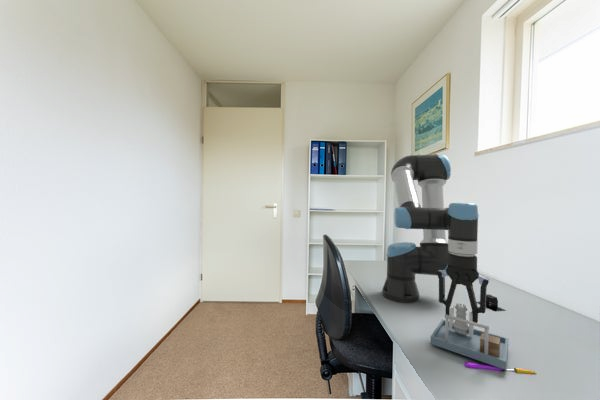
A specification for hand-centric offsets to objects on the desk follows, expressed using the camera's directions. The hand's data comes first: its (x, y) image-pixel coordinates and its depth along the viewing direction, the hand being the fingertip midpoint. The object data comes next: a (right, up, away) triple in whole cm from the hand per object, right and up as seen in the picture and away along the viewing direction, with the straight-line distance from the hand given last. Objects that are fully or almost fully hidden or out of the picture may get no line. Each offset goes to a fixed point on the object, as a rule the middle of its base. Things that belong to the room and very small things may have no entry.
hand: (461, 330), depth 77 cm
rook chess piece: (0, -1, 0) cm, 1 cm away
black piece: (+28, -4, +26) cm, 38 cm away
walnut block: (+2, -1, -10) cm, 10 cm away
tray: (0, -3, -4) cm, 5 cm away
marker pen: (+2, -4, -12) cm, 13 cm away
